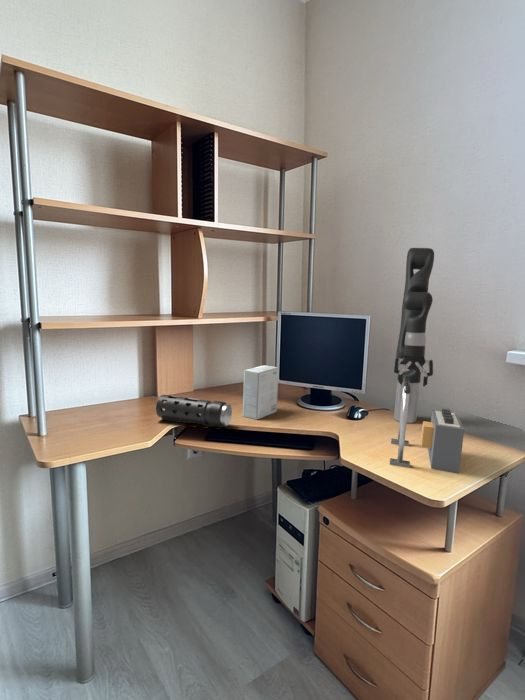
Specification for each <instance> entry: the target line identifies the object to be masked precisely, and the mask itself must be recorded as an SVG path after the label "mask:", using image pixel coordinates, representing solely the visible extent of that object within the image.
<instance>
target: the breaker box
mask: <svg viewBox="0 0 525 700" xmlns="http://www.w3.org/2000/svg"><path fill="white" fill-rule="evenodd" d="M430 422H433V424H434V432H433V440H432V448H427V451H428V453H427V454H428V457H429V463H430V465H429V466H430V469H432V470H438V471H443V472H444V471H445V472H450V473H456V474H459V473H460V468H461V467H460V465H461V459H462V458H461V457H462V451H463V443H464V436H465V435H464V434H465V428H464V426H463V423H462V421H461V420H460V418H459V416H458V413H456V412H451V409H448V408H442V409H441V411H440V410H439V411H438V410H432V411H431V417H430Z"/></svg>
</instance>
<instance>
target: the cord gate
mask: <svg viewBox="0 0 525 700" xmlns="http://www.w3.org/2000/svg"><path fill="white" fill-rule="evenodd" d="M409 394H410V382H409V377H408V376H405V377H404V378H403V393H402V402H401V412H400V421H398V422H399V424H398V432H397V433H398V434H397V438H390V439H391V440H390V444H391V445H396V446H398V449H397V451H398V452H397V458H389V465H391V466H397V467H404V468H410V465H411V462H410V460H404V450H405V446H406V447H409V446H410V445H409V443H410V442H409V440H406V430H407V424H408V423H407V413H408V403H409Z"/></svg>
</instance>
